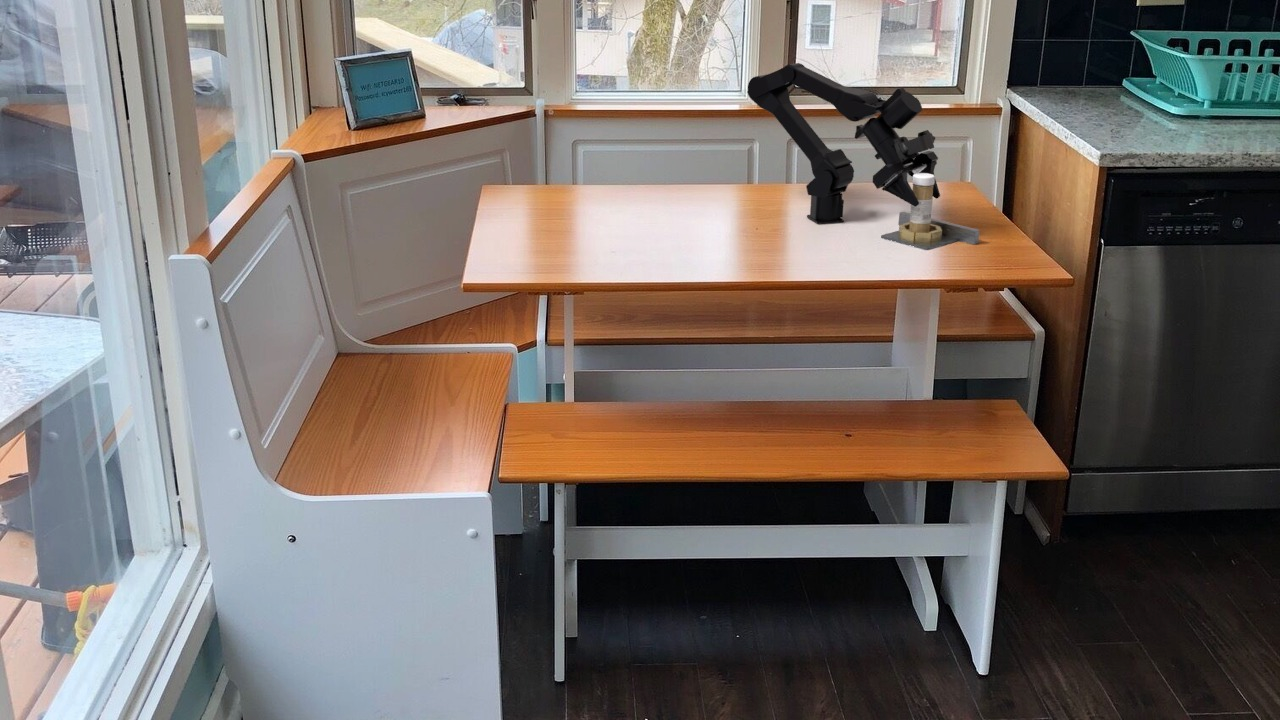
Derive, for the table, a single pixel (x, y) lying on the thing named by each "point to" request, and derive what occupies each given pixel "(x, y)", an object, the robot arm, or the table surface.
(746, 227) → the table surface
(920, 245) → the plate
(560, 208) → the table surface
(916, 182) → the sprinkles bottle
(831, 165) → the robot arm
